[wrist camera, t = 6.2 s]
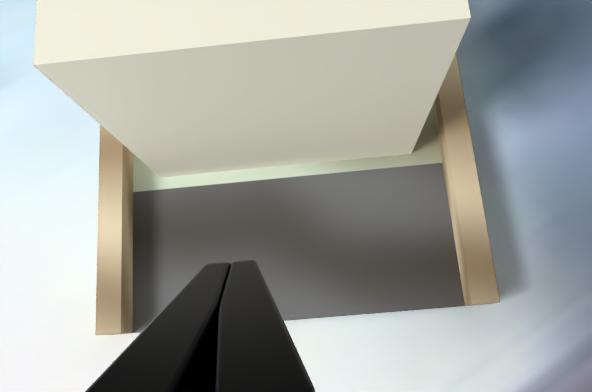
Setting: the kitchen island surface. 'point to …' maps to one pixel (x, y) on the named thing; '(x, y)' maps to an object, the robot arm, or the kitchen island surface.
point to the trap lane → (302, 228)
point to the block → (251, 76)
